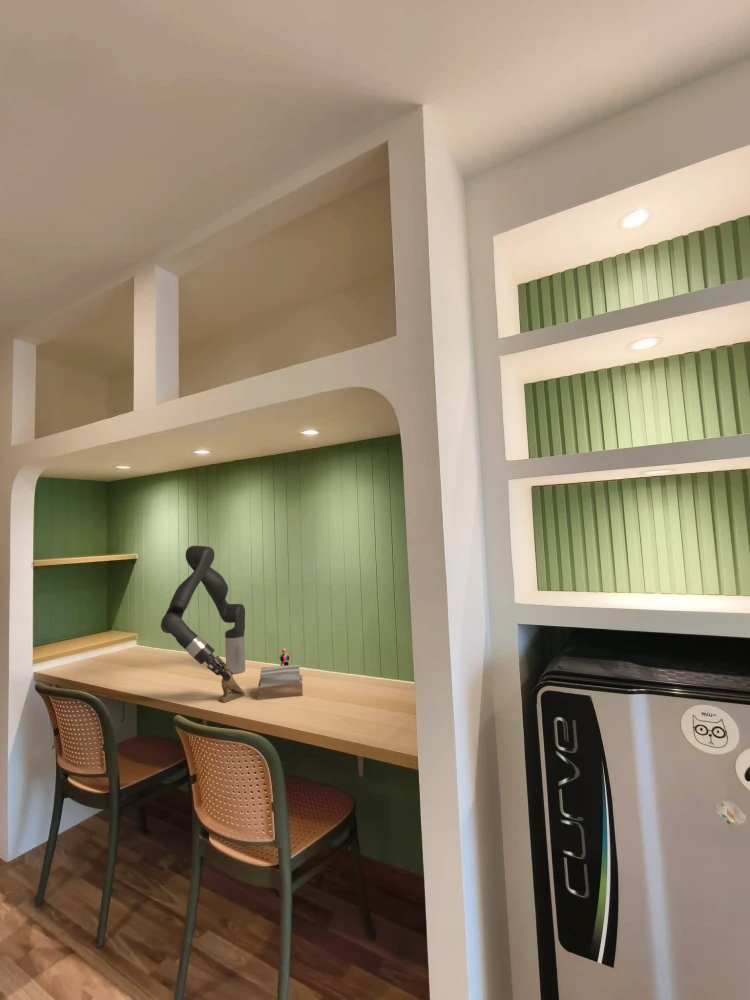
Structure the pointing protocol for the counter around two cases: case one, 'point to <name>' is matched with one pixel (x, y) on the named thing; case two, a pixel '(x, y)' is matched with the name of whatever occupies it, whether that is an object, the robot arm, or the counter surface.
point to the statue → (284, 658)
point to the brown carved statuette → (230, 688)
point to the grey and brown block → (280, 682)
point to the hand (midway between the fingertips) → (230, 677)
